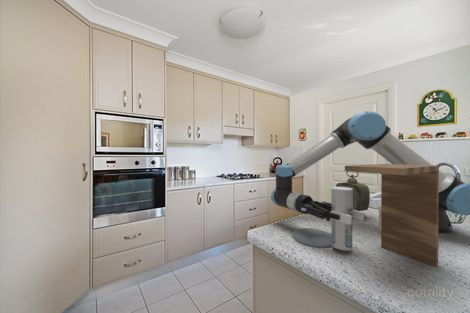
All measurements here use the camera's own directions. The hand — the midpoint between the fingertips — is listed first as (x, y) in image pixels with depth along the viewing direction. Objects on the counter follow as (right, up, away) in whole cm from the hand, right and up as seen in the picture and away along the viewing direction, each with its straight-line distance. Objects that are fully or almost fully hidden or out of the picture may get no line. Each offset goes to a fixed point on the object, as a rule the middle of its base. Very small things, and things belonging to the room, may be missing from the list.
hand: (357, 218), depth 62 cm
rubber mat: (-8, -12, +14) cm, 21 cm away
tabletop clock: (+24, -12, +43) cm, 51 cm away
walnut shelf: (+7, -12, -5) cm, 15 cm away
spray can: (-3, -11, +4) cm, 12 cm away
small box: (+26, -13, +18) cm, 34 cm away
